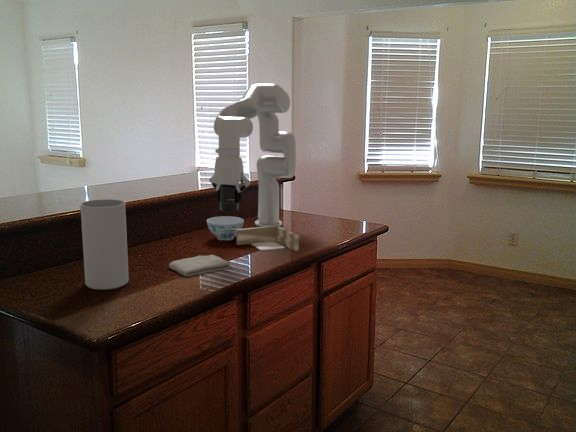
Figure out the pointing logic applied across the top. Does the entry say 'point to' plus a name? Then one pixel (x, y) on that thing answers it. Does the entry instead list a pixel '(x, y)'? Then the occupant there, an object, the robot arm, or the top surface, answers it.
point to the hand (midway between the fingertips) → (229, 201)
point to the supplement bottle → (228, 198)
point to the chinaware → (225, 226)
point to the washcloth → (199, 265)
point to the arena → (268, 238)
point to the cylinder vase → (104, 243)
